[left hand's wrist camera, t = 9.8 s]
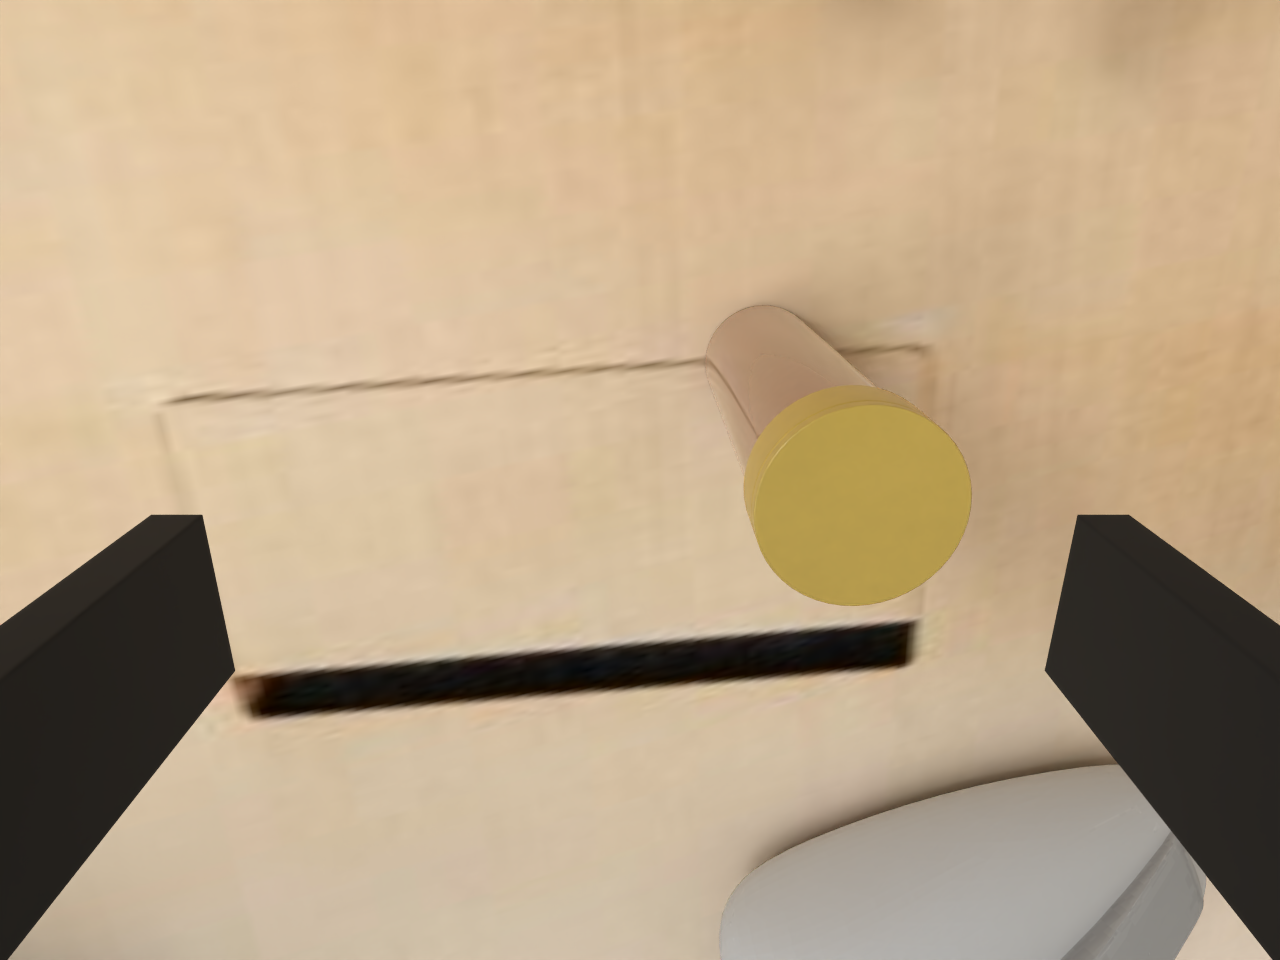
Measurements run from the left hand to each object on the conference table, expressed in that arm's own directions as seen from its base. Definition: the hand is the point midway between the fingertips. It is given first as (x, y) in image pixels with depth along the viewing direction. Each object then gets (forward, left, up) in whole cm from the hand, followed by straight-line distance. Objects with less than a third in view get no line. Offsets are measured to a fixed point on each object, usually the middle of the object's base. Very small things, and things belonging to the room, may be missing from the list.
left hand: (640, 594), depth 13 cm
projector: (-16, -29, -22) cm, 40 cm away
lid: (+2, -5, -7) cm, 9 cm away
